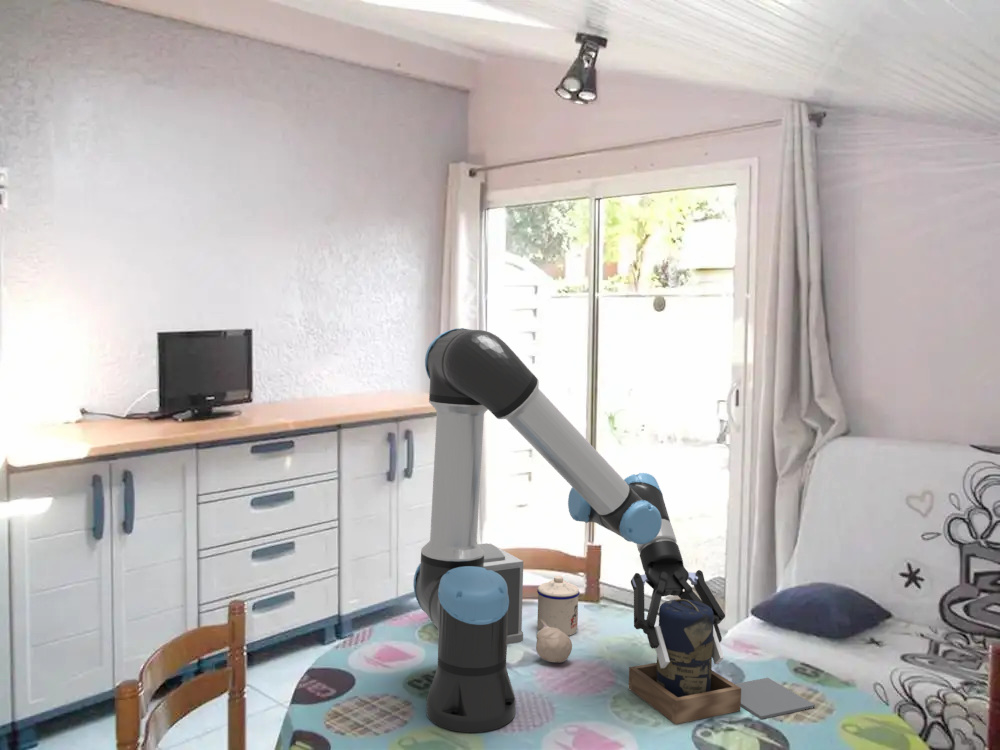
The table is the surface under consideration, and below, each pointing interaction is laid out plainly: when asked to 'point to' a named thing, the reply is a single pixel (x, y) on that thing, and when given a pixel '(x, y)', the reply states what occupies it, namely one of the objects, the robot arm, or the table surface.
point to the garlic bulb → (553, 644)
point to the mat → (770, 699)
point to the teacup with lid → (558, 605)
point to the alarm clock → (508, 586)
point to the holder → (687, 707)
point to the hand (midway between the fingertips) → (692, 663)
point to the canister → (686, 647)
